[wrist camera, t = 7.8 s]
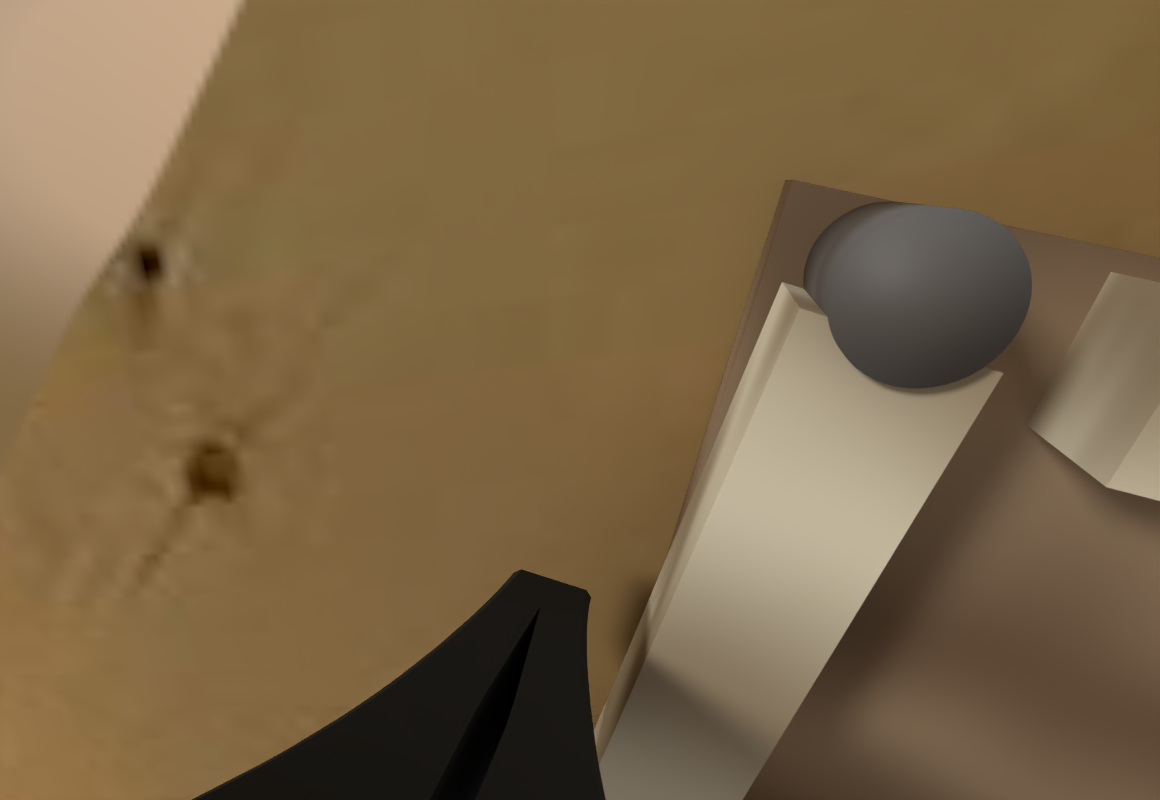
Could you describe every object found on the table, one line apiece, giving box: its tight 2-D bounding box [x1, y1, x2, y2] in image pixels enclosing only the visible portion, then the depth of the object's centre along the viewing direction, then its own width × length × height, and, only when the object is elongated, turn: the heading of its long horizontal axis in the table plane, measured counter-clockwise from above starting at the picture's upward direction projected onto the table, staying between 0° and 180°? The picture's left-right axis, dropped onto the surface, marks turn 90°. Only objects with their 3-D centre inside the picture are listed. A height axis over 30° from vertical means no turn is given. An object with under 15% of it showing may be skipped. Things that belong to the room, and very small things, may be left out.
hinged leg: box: [594, 201, 1032, 800], centre depth 10 cm, size 12×2×2 cm, turn 164°
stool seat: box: [666, 180, 1160, 800], centre depth 10 cm, size 16×16×3 cm
